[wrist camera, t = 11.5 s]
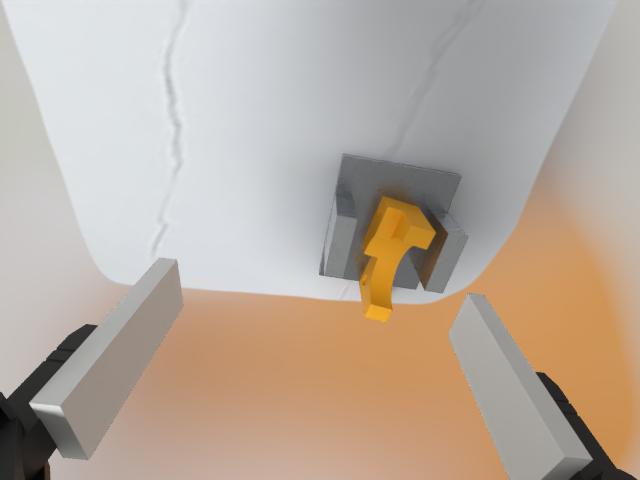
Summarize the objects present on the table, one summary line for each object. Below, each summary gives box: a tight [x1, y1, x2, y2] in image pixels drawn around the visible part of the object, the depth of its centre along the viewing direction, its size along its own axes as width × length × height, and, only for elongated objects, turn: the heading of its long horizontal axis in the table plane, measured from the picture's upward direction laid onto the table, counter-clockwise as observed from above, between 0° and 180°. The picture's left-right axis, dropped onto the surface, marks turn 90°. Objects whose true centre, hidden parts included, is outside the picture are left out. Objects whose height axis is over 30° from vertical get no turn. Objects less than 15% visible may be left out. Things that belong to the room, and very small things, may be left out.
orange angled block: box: [359, 196, 436, 322], centre depth 34 cm, size 12×4×6 cm, turn 163°
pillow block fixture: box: [319, 154, 468, 293], centre depth 34 cm, size 16×13×7 cm
